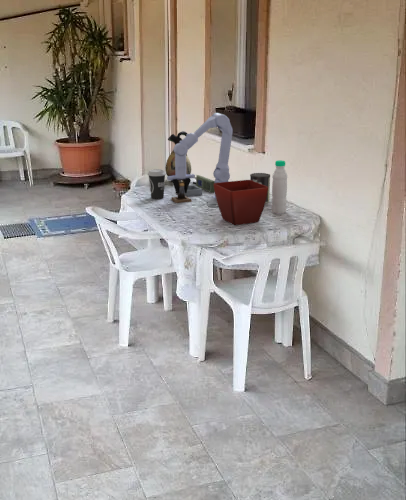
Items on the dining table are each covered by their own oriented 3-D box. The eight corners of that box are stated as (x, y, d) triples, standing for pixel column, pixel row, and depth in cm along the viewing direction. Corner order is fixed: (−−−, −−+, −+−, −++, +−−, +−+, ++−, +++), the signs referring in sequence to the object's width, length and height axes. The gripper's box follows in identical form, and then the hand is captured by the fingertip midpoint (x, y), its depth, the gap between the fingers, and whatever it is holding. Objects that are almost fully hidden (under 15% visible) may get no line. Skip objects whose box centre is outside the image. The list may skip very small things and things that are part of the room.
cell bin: (202, 195, 339) (202, 189, 338) (184, 197, 336) (184, 190, 335) (194, 191, 350) (193, 185, 349) (177, 192, 346) (177, 186, 345)
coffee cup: (155, 201, 327) (154, 172, 322) (144, 198, 334) (143, 170, 329) (170, 198, 333) (169, 170, 328) (159, 195, 340) (158, 168, 335)
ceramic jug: (167, 184, 367) (165, 133, 358) (164, 179, 382) (163, 130, 372) (195, 183, 369) (195, 132, 360) (192, 178, 384) (191, 129, 375)
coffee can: (262, 204, 318) (263, 177, 314) (245, 202, 324) (246, 175, 320) (273, 201, 326) (274, 174, 322) (256, 198, 332) (257, 172, 328)
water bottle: (268, 211, 305) (270, 160, 298) (281, 210, 308) (283, 159, 300) (276, 214, 299) (277, 162, 291) (288, 213, 302) (290, 161, 294)
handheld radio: (210, 193, 346) (190, 185, 367) (215, 192, 347) (195, 184, 369) (211, 181, 344) (191, 173, 365) (216, 181, 346) (196, 173, 367)
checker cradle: (192, 202, 325) (192, 199, 324) (176, 203, 321) (176, 200, 321) (186, 198, 333) (186, 195, 332) (170, 200, 329) (170, 197, 329)
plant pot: (230, 228, 277) (230, 191, 272) (212, 218, 293) (212, 182, 288) (268, 223, 284) (269, 187, 279) (249, 214, 301) (249, 179, 296)
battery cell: (186, 198, 325) (186, 181, 323) (179, 198, 324) (178, 182, 321) (183, 196, 329) (183, 179, 326) (176, 197, 328) (175, 180, 325)
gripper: (191, 164, 328) (191, 190, 332) (164, 166, 323) (165, 192, 327) (196, 166, 322) (196, 192, 326) (169, 169, 316) (170, 195, 320)
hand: (181, 193), depth 326 cm, fingers closed on battery cell, 4 cm apart
